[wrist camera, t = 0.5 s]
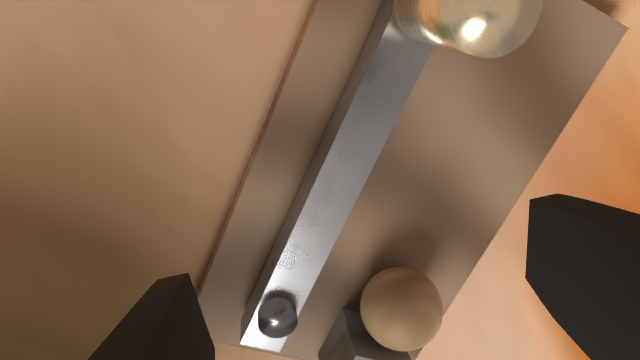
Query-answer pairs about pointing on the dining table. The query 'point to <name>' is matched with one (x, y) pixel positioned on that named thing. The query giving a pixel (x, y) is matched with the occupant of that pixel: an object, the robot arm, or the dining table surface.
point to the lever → (368, 140)
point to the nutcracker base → (402, 168)
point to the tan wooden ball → (401, 308)
